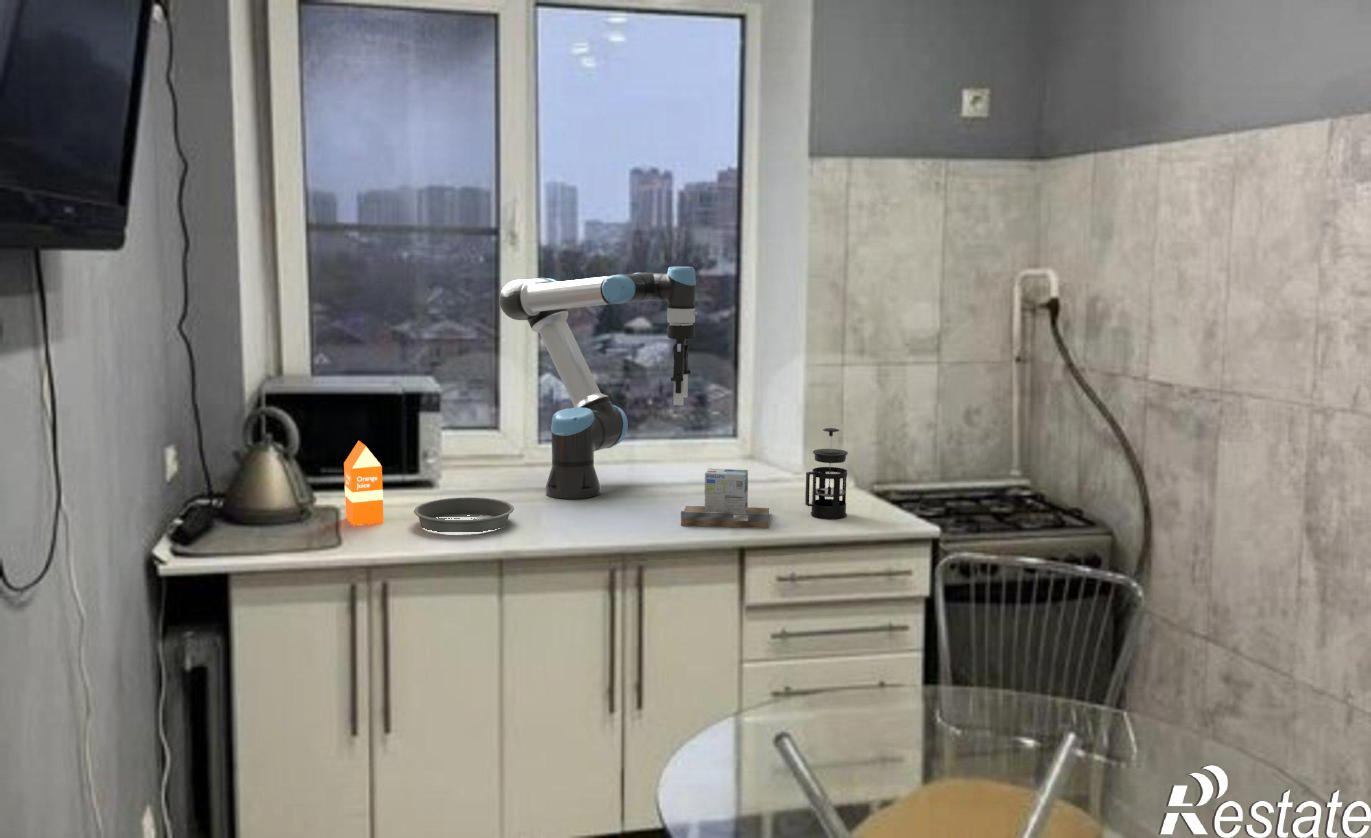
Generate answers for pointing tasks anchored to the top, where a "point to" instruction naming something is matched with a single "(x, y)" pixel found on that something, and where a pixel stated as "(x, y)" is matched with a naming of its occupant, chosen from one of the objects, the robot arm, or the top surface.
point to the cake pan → (463, 514)
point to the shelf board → (725, 518)
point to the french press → (829, 506)
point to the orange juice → (363, 487)
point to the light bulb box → (726, 490)
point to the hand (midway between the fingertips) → (680, 401)
